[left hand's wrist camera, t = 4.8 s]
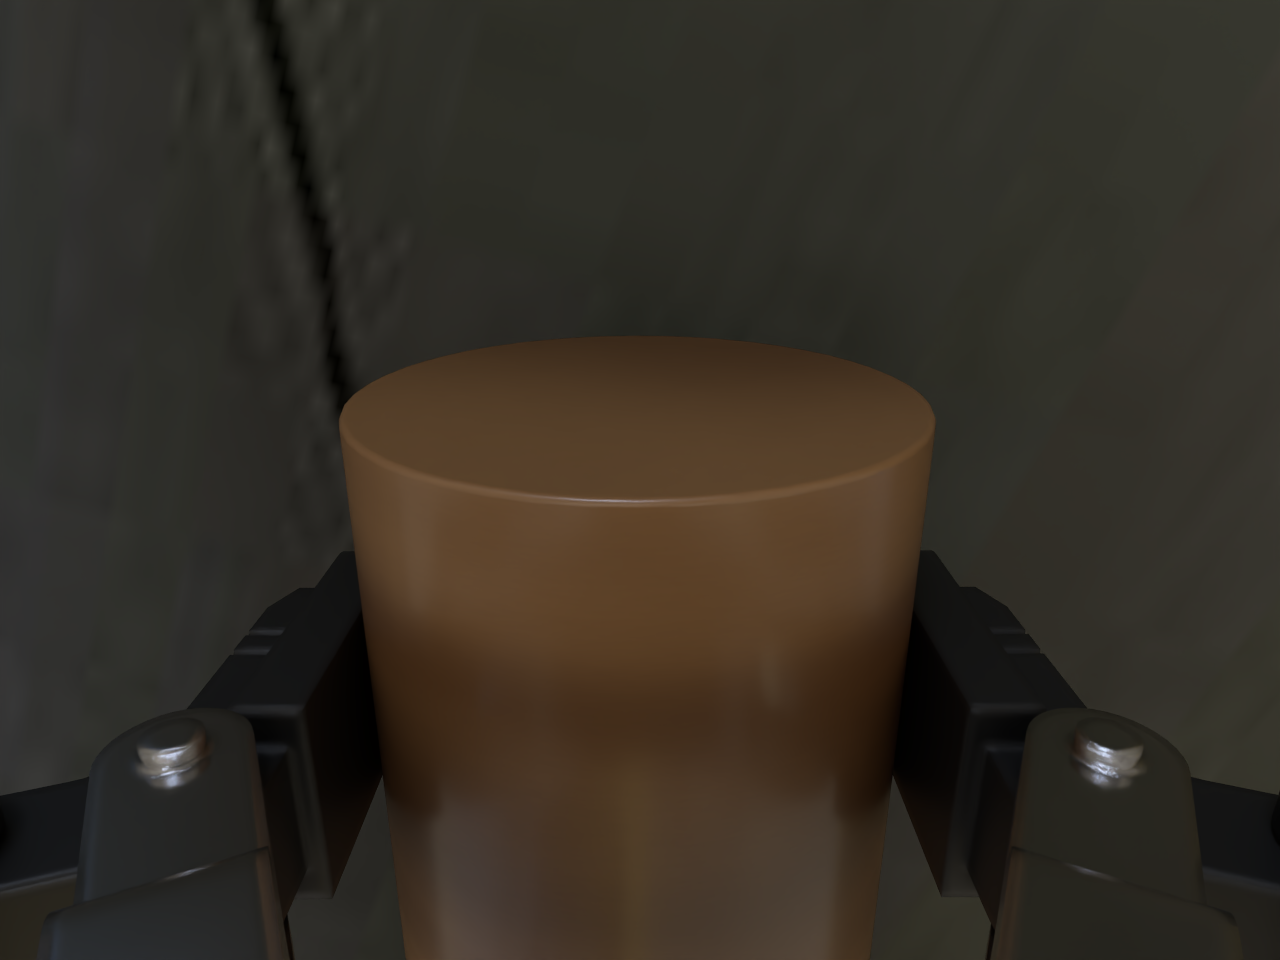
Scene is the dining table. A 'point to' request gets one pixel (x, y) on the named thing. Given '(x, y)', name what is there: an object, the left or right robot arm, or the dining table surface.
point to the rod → (637, 643)
